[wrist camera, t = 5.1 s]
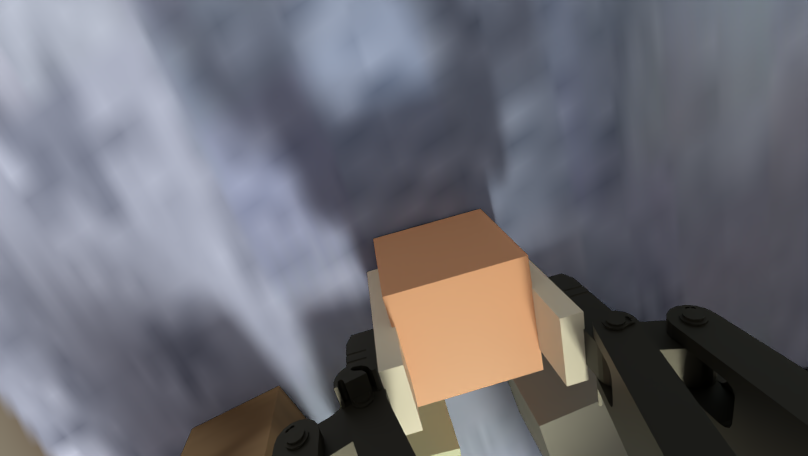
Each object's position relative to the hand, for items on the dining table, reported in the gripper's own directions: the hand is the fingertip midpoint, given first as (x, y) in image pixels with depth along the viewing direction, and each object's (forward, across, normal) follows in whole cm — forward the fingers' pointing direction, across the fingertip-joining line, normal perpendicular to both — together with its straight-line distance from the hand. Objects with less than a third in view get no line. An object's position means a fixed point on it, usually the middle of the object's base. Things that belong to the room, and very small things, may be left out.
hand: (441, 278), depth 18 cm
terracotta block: (0, 0, 0) cm, 0 cm away
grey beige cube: (+1, -5, +8) cm, 9 cm away
